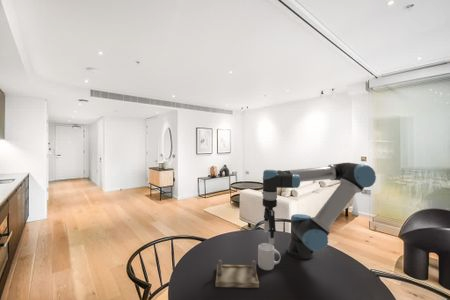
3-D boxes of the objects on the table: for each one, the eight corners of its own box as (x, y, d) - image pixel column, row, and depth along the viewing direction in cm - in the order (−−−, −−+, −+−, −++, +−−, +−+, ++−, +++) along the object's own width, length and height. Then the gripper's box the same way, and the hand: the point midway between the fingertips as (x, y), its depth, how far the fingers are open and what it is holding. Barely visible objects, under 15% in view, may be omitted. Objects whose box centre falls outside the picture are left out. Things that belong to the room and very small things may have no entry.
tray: (255, 269, 108) (255, 254, 108) (258, 287, 94) (259, 270, 94) (217, 268, 109) (217, 253, 109) (215, 286, 95) (215, 269, 95)
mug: (281, 272, 106) (281, 251, 106) (258, 270, 108) (258, 250, 107) (279, 262, 115) (279, 243, 114) (257, 261, 116) (257, 242, 116)
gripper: (259, 193, 123) (258, 228, 123) (266, 205, 98) (266, 249, 98) (271, 193, 123) (271, 228, 123) (282, 205, 98) (281, 249, 98)
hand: (268, 237), depth 111 cm, fingers open, 13 cm apart
